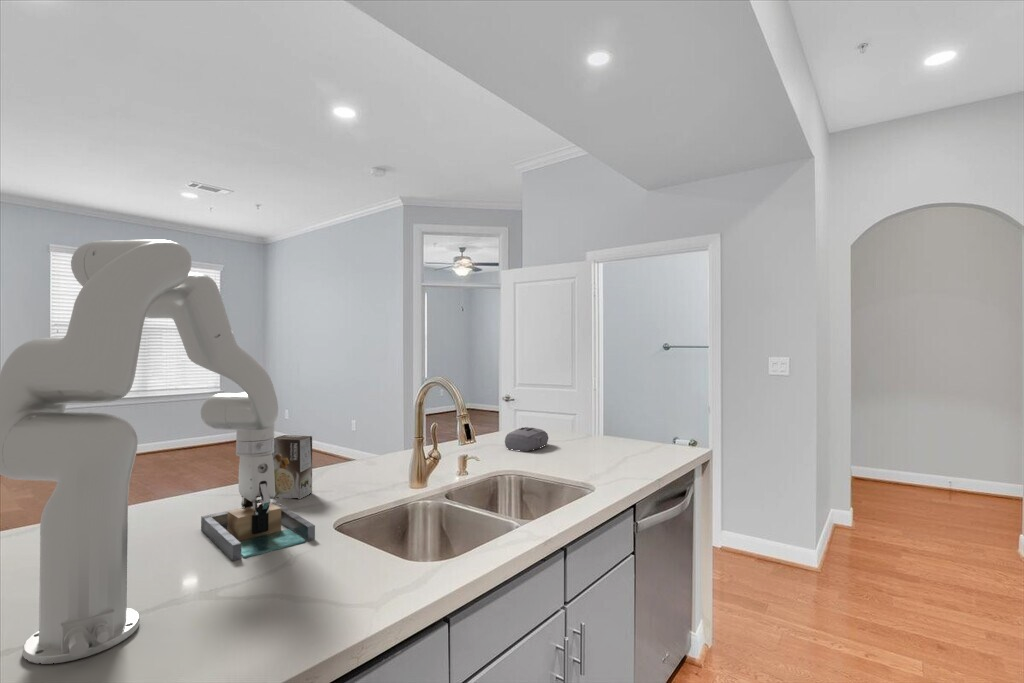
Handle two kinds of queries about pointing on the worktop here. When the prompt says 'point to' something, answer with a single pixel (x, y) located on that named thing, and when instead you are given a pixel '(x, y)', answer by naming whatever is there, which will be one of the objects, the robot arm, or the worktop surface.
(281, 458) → the coffee box
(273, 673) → the worktop surface
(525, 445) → the grey rounded bag
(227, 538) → the bay
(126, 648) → the worktop surface
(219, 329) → the robot arm
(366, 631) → the worktop surface
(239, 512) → the tan cardboard box
